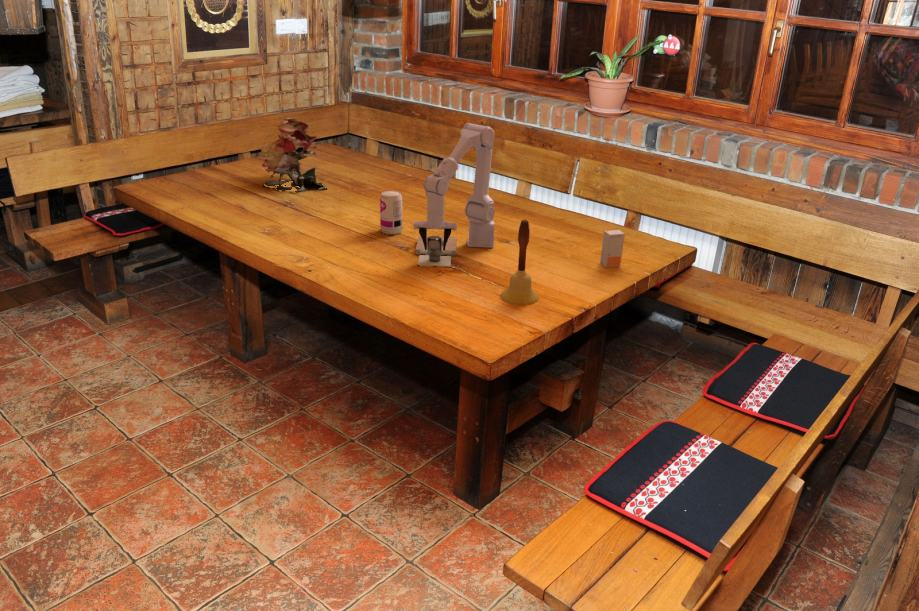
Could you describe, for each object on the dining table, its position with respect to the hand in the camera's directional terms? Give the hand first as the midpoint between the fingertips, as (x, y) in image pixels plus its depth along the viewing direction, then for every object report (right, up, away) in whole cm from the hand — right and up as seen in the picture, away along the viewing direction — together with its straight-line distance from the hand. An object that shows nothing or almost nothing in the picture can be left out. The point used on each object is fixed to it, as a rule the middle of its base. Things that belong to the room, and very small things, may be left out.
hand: (434, 249), depth 264 cm
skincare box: (+61, -5, +4) cm, 61 cm away
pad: (0, -4, +2) cm, 5 cm away
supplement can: (-17, +9, +29) cm, 34 cm away
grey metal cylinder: (0, -4, +2) cm, 4 cm away
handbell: (+27, -17, -23) cm, 39 cm away
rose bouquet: (-66, +34, +79) cm, 109 cm away
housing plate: (0, +1, +14) cm, 14 cm away
